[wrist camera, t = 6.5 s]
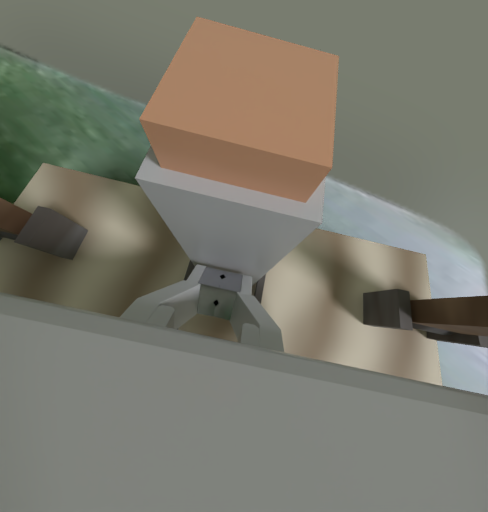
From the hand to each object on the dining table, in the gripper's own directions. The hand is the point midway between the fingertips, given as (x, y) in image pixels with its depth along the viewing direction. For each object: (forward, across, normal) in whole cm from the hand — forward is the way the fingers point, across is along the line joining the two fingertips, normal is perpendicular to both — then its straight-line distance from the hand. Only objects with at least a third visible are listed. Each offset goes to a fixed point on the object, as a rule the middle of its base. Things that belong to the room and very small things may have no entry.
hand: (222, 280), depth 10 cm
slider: (+4, 0, +1) cm, 4 cm away
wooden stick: (+2, -14, +1) cm, 14 cm away
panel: (+4, 0, +4) cm, 5 cm away
